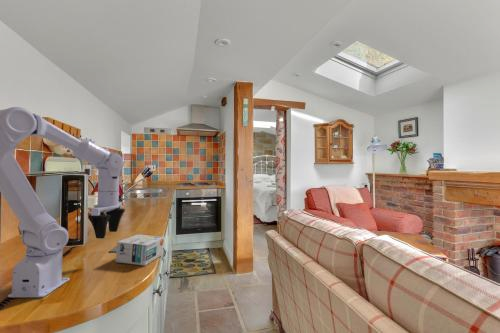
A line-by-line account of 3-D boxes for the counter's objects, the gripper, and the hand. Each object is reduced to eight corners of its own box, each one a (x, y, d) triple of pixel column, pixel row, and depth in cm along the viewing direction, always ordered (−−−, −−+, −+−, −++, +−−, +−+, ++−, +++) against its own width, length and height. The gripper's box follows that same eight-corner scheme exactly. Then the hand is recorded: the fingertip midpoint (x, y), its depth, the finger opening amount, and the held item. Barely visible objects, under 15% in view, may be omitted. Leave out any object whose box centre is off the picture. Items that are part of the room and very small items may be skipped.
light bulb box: (114, 262, 79) (145, 266, 77) (116, 241, 79) (146, 244, 77) (136, 252, 89) (163, 255, 87) (137, 233, 89) (164, 236, 87)
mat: (134, 252, 89) (134, 251, 89) (108, 252, 88) (108, 251, 88) (146, 242, 101) (146, 241, 101) (124, 242, 100) (124, 241, 100)
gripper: (107, 188, 84) (106, 228, 84) (80, 193, 70) (78, 241, 70) (128, 189, 85) (127, 229, 84) (106, 193, 70) (104, 241, 70)
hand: (107, 234), depth 77 cm, fingers open, 7 cm apart
